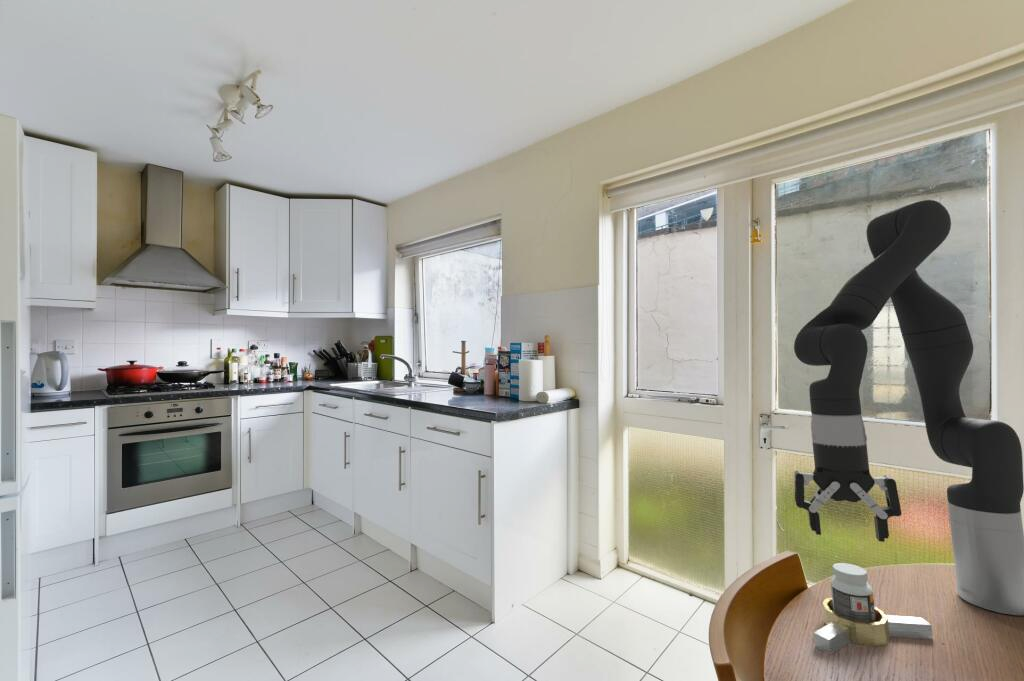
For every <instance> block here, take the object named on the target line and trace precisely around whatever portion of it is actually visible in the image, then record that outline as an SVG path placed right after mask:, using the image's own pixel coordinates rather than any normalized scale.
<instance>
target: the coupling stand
mask: <svg viewBox="0 0 1024 681" xmlns="http://www.w3.org/2000/svg"><path fill="white" fill-rule="evenodd" d="M874 607H875V616H876V622H873V623H866V622H859V621H854V620H851V619H848V618H845V617H842V616H840V615H838V614H837V613H835V612H833V602H832V597H827V598H825V599H824V600H823V602H822V613H823V615H822V617H823V623H824V626H822V627H821V628H819V629H817V630H815V631H814V632H813V638H814V639H813V640H814V647H815V648H816V649H818V650H820V651H822V652H824V651H825V652H824V653H826V652H827V653H826V654H828V653H829V654H828V655H830V654H831V653H833V652H834V653H836V652H837V651H838V649H839V650H840V649H842V648H844V647H845V646H846V645H848V644H849V643H851V642H852V643H854V644H857V645H863V644H864V645H863V646H869V647H878V646H880V647H881V646H885V645H887V644H888V643H889V642H890V639H891V637H895V638H896V637H898V638H911V639H923V640H924V639H925V640H933V639H934V638H933V630H932V624H930V623H929V622H928V621H927V620H926V619H924V618H923V617H921V616H917V617H916V616H908V615H907V616H905V615H891V614H885V613H884V611H883V610H882V609H879V608H878V607H876V606H874ZM835 651H836V652H835ZM834 653H833V654H834ZM831 655H832V654H831Z"/></svg>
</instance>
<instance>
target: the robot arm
mask: <svg viewBox="0 0 1024 681" xmlns="http://www.w3.org/2000/svg"><path fill="white" fill-rule="evenodd" d="M951 220H952V219H951V215H950V213H949V211H948V210H947V208H946V207H945V206H944V205H943V204H941V202H939V201H936V200H934V199H922V200H919V201H918V200H917V201H915V202H912V203H909V204H906V205H904V206H901V207H898V208H895V209H892V210H890V211H887V212H884V213H882V214H880V215H877V216H875V217H873V218H872V219H870V221H869V222H868V224H867V227H866V233H865V234H866V240H867V245H868V247H869V250H870V252H871V255H872V257H873V260H872V261H870V262H869V263H867V264H866V265H865V266H863V267H862V268H861V269H859V270H858V271H857V272H856V273H854V275H852V276H851V277H850V278H849V279H847V281H846V283H844V284H843V286H842V287H841V289H840V290H839V292H838V293H837V294H836V295H835V297H834V298H833V300H832V302H831V303H830V304H829V305H828V306H827V307H826V308H824V309H823V310H821V311H820V312H819V313H817V314H816V315H815V316H814V317H813V318H812V319H810V320H809V321H808V322H807V323H806V324H805V325H804V326H803V327H802V328H801V329H800V330H799V331H798V333H797V334H796V337H795V339H794V342H793V343H794V344H793V351H794V353H795V354H794V355H795V356H796V358H797V359H798V360H799V361H800V362H801V363H803V364H805V365H807V366H814V367H816V366H817V367H818V366H819V367H823V366H830V368H829V371H828V374H827V376H826V377H825V378H822V379H818V380H815V381H813V382H812V383H810V384H809V389H808V392H809V403H810V412H811V414H810V416H811V419H810V431H811V440H812V441H811V442H812V451H813V452H812V453H813V461H814V471H813V472H812V473H808V472H802V471H801V470H795V471H794V473H793V474H794V501H795V504H796V506H797V507H798V509H804V510H806V511H807V512H808V520H809V526H810V529H811V531H813V532H814V533H815V535H818V536H822V530H821V519H820V513H819V509H820V508H821V507H822V506H823V505H825V504H826V503H827V502H828V500H832V501H834V502H843V501H845V502H850V503H856V504H857V503H858V502H860V501H863V502H864V503H865V504H866V505H867V506H868V507H869V508H870V509H871V510H872V512H873V513H874V514H873V521H874V530H875V537H876V539H877V541H878V542H881V543H885V539H889V537H890V532H889V523H888V522H889V521H888V520H889V519H890V518H892V517H901V516H902V509H901V502H900V497H899V493H898V487H897V481H896V480H895V479H894V478H892V477H891V476H890V475H888V474H885V475H883V476H880V477H879V476H872V475H871V472H870V463H869V462H870V461H869V454H868V446H867V445H868V444H867V441H868V437H867V435H866V428H865V424H864V419H863V416H862V415H863V414H862V406H861V397H860V388H861V383H862V378H863V373H864V370H865V364H866V361H867V357H868V351H869V350H868V347H869V346H868V341H867V339H866V336H865V334H864V332H863V330H866V329H868V328H869V327H870V326H872V324H873V323H874V322H875V321H876V319H877V318H878V315H880V313H881V311H882V310H883V308H884V307H885V305H886V304H887V302H888V301H889V299H890V300H891V302H892V306H893V309H894V312H895V315H896V319H897V322H898V325H899V330H900V333H901V337H902V340H903V343H904V346H905V349H906V352H907V355H908V358H909V361H910V363H911V367H912V369H913V373H914V374H913V375H914V377H915V382H916V385H917V388H918V392H919V396H920V402H921V406H922V413H923V419H924V425H925V430H926V434H927V437H928V441H929V446H930V448H931V449H932V452H933V453H934V454H935V455H936V456H937V457H938V458H939V459H940V460H942V461H944V462H946V463H949V464H951V465H952V464H953V465H956V466H962V467H967V468H971V473H972V474H971V480H970V481H969V482H965V483H957V484H956V483H955V484H951V485H949V486H947V489H946V497H947V498H946V499H947V507H948V515H949V523H950V524H949V526H950V534H951V535H950V536H951V543H952V552H953V561H954V562H953V563H954V572H955V579H956V589H957V596H959V597H960V598H961V599H962V600H964V601H965V602H967V603H969V604H971V605H974V606H976V607H978V608H981V609H985V610H988V611H992V612H995V613H999V614H1004V615H1005V614H1006V615H1011V616H1024V526H1023V520H1022V519H1023V517H1022V511H1021V510H1022V509H1021V508H1022V507H1021V501H1022V498H1023V495H1024V465H1023V463H1024V462H1023V449H1022V444H1021V441H1020V437H1019V436H1018V434H1017V432H1016V430H1015V429H1014V428H1013V427H1012V426H1011V425H1009V424H1007V423H1006V422H1003V421H999V420H992V419H983V418H972V417H967V416H966V413H965V412H964V409H963V406H962V402H961V396H960V387H961V383H962V380H963V377H964V375H965V374H966V373H967V372H966V371H967V369H968V367H969V365H970V363H971V361H972V358H973V354H974V343H973V338H972V336H971V332H970V329H969V327H968V324H967V321H966V317H965V315H964V313H963V312H962V311H961V310H960V308H959V307H958V306H957V305H955V304H954V303H953V302H952V301H951V300H949V299H948V298H947V297H945V296H944V295H943V294H941V293H940V292H938V290H936V289H934V288H933V287H932V286H931V285H929V283H927V282H926V281H925V280H924V279H923V278H922V276H920V274H919V272H918V271H917V268H918V267H919V266H921V264H922V263H923V262H924V261H925V260H926V259H927V258H928V257H929V256H930V255H932V253H934V252H935V251H936V250H937V249H938V247H940V246H941V245H942V244H943V242H944V241H945V240H947V237H948V235H949V234H950V231H951V226H952V221H951ZM810 481H813V482H814V483H815V484H816V485H817V487H819V488H818V489H817V490H816V491H815V493H814V494H813V496H812V497H811V498H810V500H806V499H805V486H806V487H807V486H809V484H810ZM875 485H877V486H878V488H879V489H880V490H881V491H882V492H884V494H885V499H886V505H887V506H883V507H881V506H880V505H879V504H878V503H877V502H876V501H875V499H873V498H872V496H870V495H869V494H868V493H869V492H870V491H871V489H873V488H874V486H875Z"/></svg>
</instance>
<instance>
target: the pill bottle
mask: <svg viewBox="0 0 1024 681" xmlns="http://www.w3.org/2000/svg"><path fill="white" fill-rule="evenodd" d="M832 574H833V575H834V576H833V578H832V579H831V580H830V591H831V598H832V602H833V612H835V613H837V614H838V615H840V616H842V617H845V618H848V619H851V620H854V621H859V622H866V623H873V622H876V616H875V607H876V606H875V598H874V592H873V588H872V586H871V585H870V584H869V583H868V580H869V576H868V572H867V570H866V569H865V568H864V567H863V568H862V567H861V566H859V565H855V564H852V563H846V562H838V563H834V564H833V565H832Z"/></svg>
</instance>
